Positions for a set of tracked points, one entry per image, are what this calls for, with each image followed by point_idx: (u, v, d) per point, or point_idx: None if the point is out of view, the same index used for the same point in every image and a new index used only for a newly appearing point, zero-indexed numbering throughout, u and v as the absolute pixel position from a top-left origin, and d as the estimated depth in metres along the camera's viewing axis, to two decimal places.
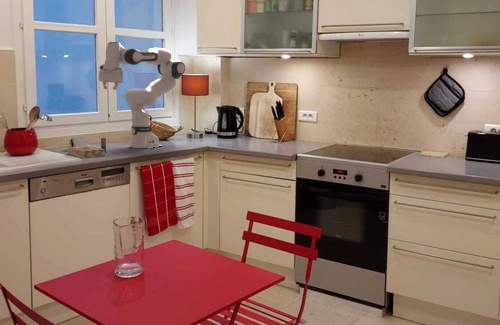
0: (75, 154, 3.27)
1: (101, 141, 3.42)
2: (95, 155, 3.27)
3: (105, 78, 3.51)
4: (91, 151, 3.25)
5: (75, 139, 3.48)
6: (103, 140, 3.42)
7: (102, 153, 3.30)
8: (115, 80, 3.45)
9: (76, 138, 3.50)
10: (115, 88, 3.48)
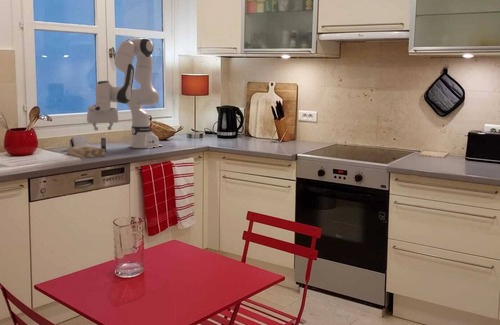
0: (75, 154, 3.27)
1: (101, 141, 3.42)
2: (95, 155, 3.27)
3: (99, 119, 3.37)
4: (91, 151, 3.25)
5: (75, 139, 3.48)
6: (103, 140, 3.42)
7: (102, 153, 3.30)
8: (114, 120, 3.45)
9: (76, 138, 3.50)
10: None
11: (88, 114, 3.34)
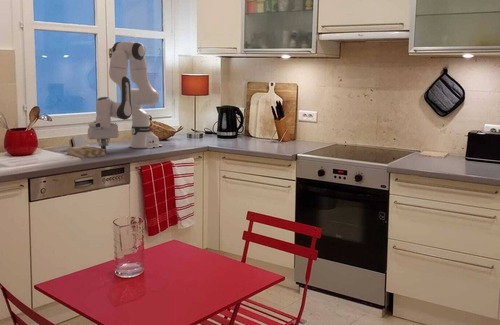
0: (75, 154, 3.27)
1: (101, 141, 3.42)
2: (95, 155, 3.27)
3: (100, 136, 3.39)
4: (91, 151, 3.25)
5: (75, 139, 3.48)
6: (103, 140, 3.42)
7: (102, 153, 3.30)
8: (114, 136, 3.47)
9: (76, 138, 3.50)
10: None
11: (89, 131, 3.36)
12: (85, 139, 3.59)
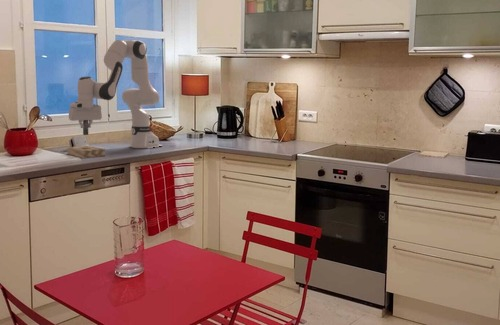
0: (75, 154, 3.27)
1: (83, 123, 3.28)
2: (95, 155, 3.27)
3: (82, 117, 3.25)
4: (91, 151, 3.25)
5: (75, 139, 3.48)
6: (85, 121, 3.28)
7: (102, 153, 3.30)
8: (97, 118, 3.33)
9: (76, 138, 3.50)
10: None
11: (70, 111, 3.22)
12: (85, 139, 3.59)
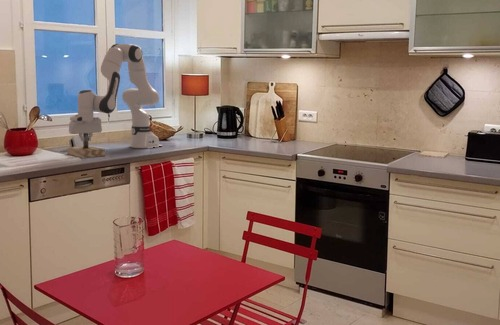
0: (75, 154, 3.27)
1: (83, 136, 3.29)
2: (95, 155, 3.27)
3: (82, 130, 3.26)
4: (91, 151, 3.25)
5: (75, 139, 3.48)
6: (85, 135, 3.29)
7: (102, 153, 3.30)
8: (97, 131, 3.34)
9: (76, 138, 3.49)
10: None
11: (70, 125, 3.23)
12: None
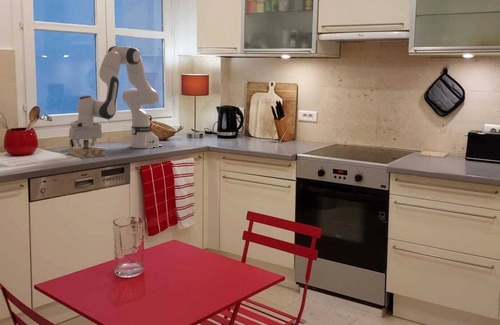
0: (75, 154, 3.27)
1: (83, 143, 3.30)
2: (95, 155, 3.27)
3: (82, 136, 3.27)
4: (91, 151, 3.25)
5: None
6: (86, 142, 3.30)
7: (102, 153, 3.30)
8: (97, 136, 3.35)
9: None
10: None
11: (70, 131, 3.23)
12: (84, 139, 3.59)
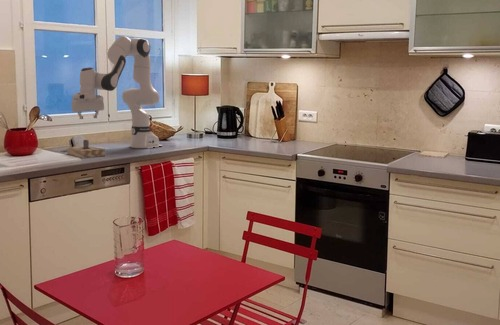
0: (75, 154, 3.27)
1: (83, 143, 3.30)
2: (95, 155, 3.27)
3: (84, 108, 3.27)
4: (91, 151, 3.25)
5: (75, 139, 3.47)
6: (86, 142, 3.30)
7: (102, 153, 3.30)
8: (100, 108, 3.35)
9: (76, 138, 3.49)
10: None
11: (72, 103, 3.23)
12: (84, 139, 3.59)
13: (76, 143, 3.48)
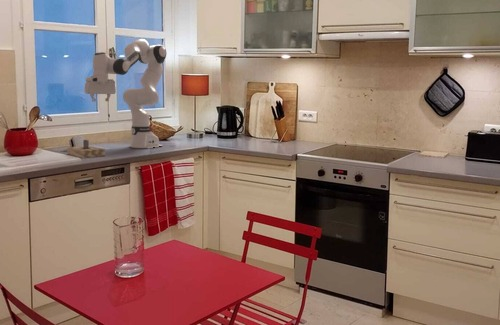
0: (75, 154, 3.27)
1: (83, 143, 3.30)
2: (95, 155, 3.27)
3: (97, 91, 3.40)
4: (91, 151, 3.25)
5: (75, 139, 3.47)
6: (86, 142, 3.30)
7: (102, 153, 3.30)
8: (111, 92, 3.48)
9: (76, 138, 3.49)
10: None
11: (86, 85, 3.37)
12: (83, 139, 3.59)
13: (76, 143, 3.48)
